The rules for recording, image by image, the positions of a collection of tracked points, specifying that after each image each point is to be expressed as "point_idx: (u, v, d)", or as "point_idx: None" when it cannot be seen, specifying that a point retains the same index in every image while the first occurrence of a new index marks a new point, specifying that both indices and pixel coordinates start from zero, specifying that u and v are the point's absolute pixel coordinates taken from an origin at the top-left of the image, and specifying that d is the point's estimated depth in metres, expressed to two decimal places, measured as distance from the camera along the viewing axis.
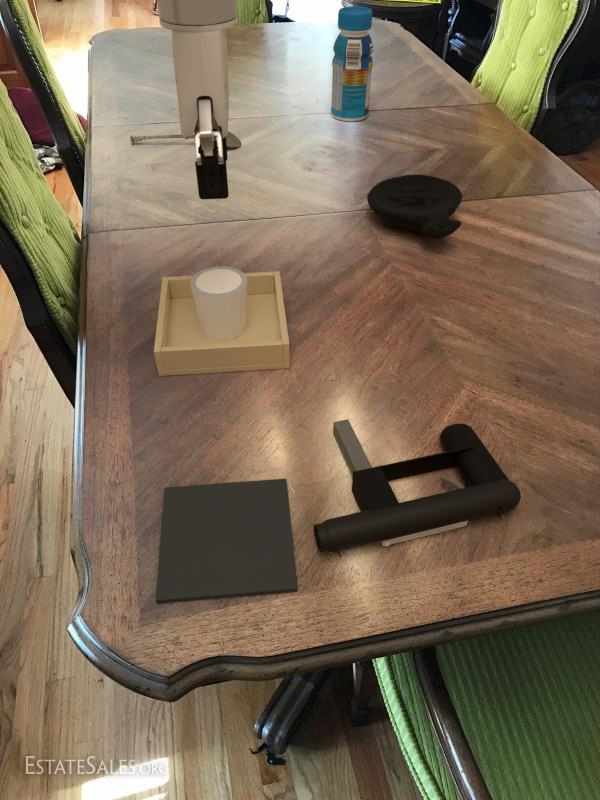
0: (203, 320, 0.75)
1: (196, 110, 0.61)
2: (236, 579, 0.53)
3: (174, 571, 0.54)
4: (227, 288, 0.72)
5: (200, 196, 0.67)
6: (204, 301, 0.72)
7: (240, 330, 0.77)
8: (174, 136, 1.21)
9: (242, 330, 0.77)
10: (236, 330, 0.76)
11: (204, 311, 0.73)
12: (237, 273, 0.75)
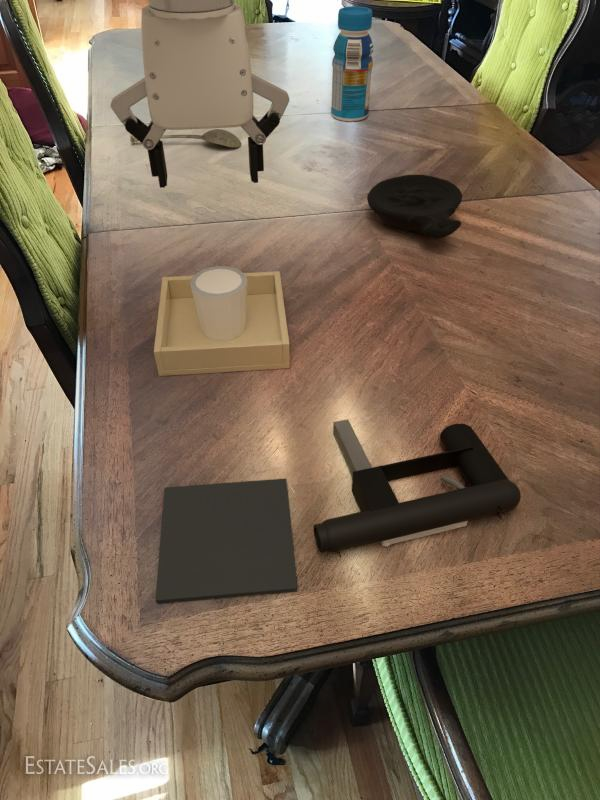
0: (203, 320, 0.75)
1: None
2: (236, 579, 0.53)
3: (174, 571, 0.54)
4: (227, 288, 0.72)
5: None
6: (204, 301, 0.72)
7: (240, 330, 0.77)
8: (174, 136, 1.21)
9: (242, 330, 0.77)
10: (236, 330, 0.76)
11: (204, 311, 0.73)
12: (237, 273, 0.75)
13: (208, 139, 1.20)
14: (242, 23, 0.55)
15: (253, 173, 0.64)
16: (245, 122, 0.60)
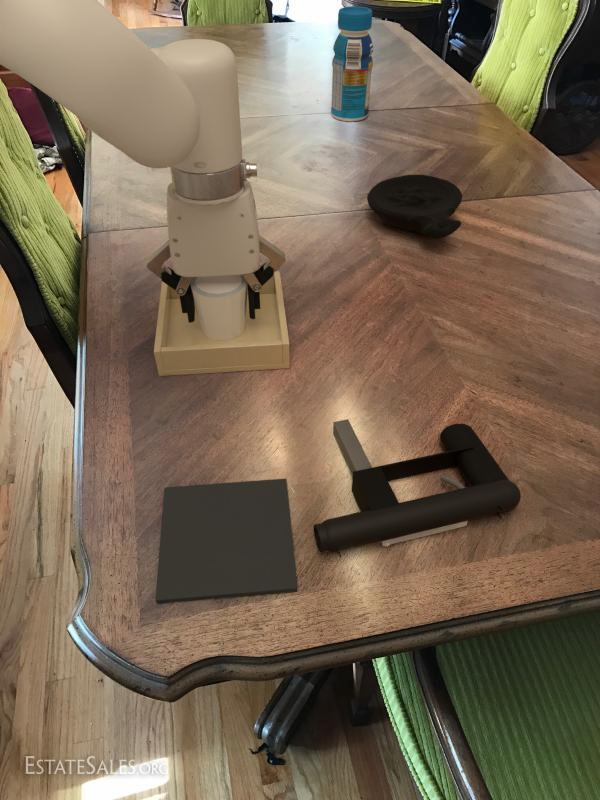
0: (203, 320, 0.75)
1: None
2: (236, 579, 0.53)
3: (174, 571, 0.54)
4: (227, 288, 0.72)
5: None
6: (204, 301, 0.72)
7: (240, 330, 0.77)
8: None
9: (242, 330, 0.77)
10: (236, 330, 0.76)
11: (204, 311, 0.73)
12: None
13: None
14: (251, 200, 0.66)
15: (251, 312, 0.75)
16: (252, 271, 0.71)
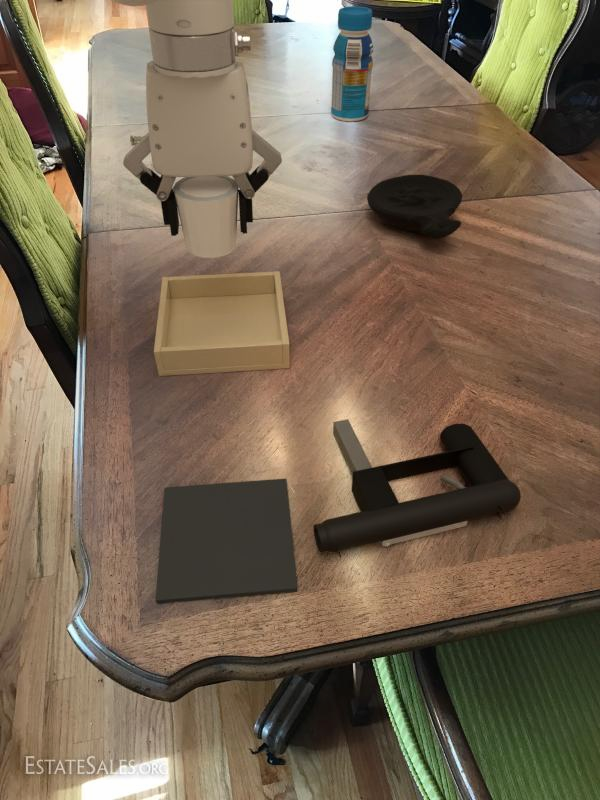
0: (188, 232, 0.66)
1: None
2: (236, 579, 0.53)
3: (174, 571, 0.54)
4: (215, 193, 0.64)
5: None
6: (189, 206, 0.63)
7: (230, 246, 0.68)
8: None
9: (232, 247, 0.68)
10: (225, 245, 0.67)
11: (189, 220, 0.65)
12: (227, 179, 0.66)
13: None
14: (243, 80, 0.57)
15: (242, 225, 0.67)
16: (244, 171, 0.62)
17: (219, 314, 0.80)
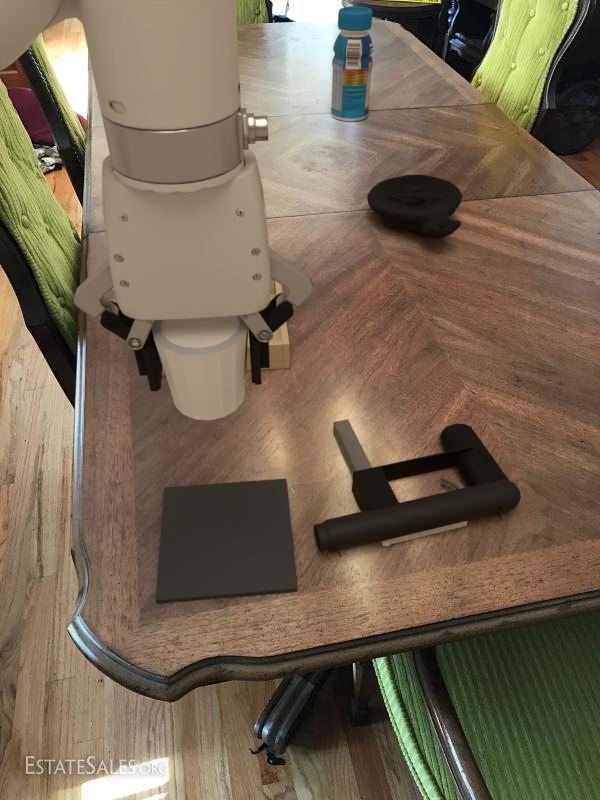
0: (175, 388, 0.45)
1: None
2: (236, 579, 0.53)
3: (174, 571, 0.54)
4: (214, 338, 0.42)
5: None
6: (175, 360, 0.42)
7: (236, 402, 0.47)
8: None
9: (240, 401, 0.47)
10: (230, 403, 0.46)
11: (176, 375, 0.43)
12: None
13: None
14: (256, 185, 0.36)
15: (254, 375, 0.45)
16: (258, 310, 0.41)
17: None
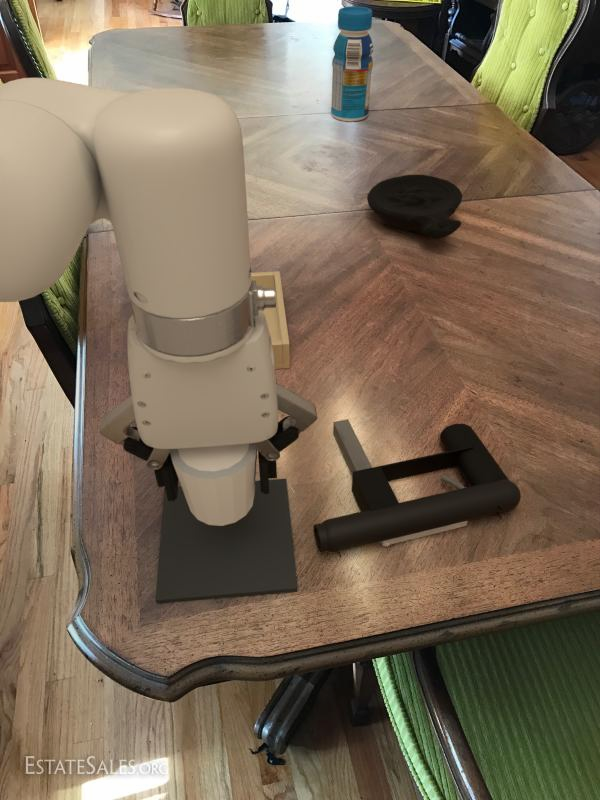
0: (190, 500, 0.49)
1: None
2: (236, 579, 0.53)
3: (174, 571, 0.54)
4: (226, 460, 0.47)
5: None
6: (191, 481, 0.46)
7: (246, 508, 0.51)
8: None
9: (249, 507, 0.51)
10: (241, 510, 0.50)
11: (191, 491, 0.48)
12: None
13: None
14: (265, 343, 0.40)
15: (263, 486, 0.50)
16: (267, 439, 0.45)
17: None
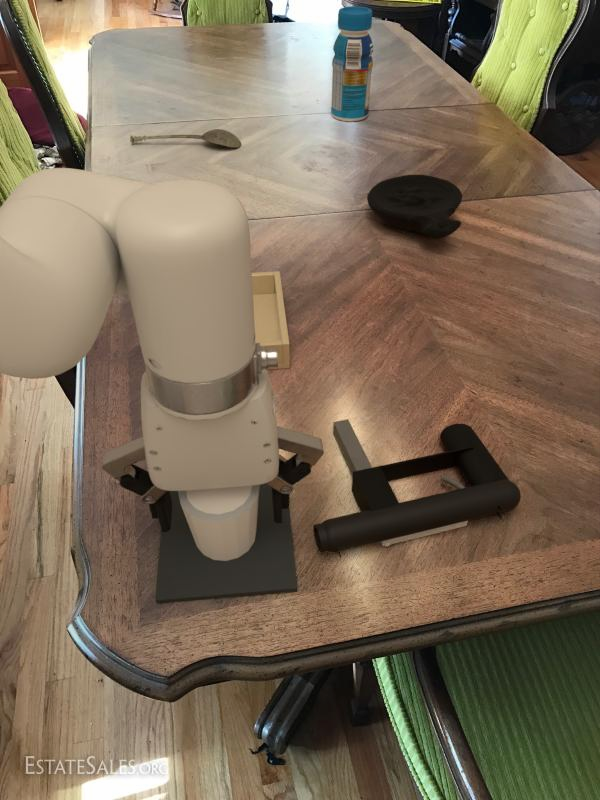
0: (197, 538, 0.53)
1: None
2: (236, 579, 0.53)
3: (174, 571, 0.54)
4: (231, 503, 0.50)
5: None
6: (198, 522, 0.50)
7: (249, 545, 0.55)
8: (174, 136, 1.21)
9: (252, 542, 0.55)
10: (244, 547, 0.54)
11: (198, 531, 0.51)
12: None
13: (208, 139, 1.20)
14: (268, 399, 0.43)
15: (276, 517, 0.53)
16: (268, 481, 0.49)
17: None
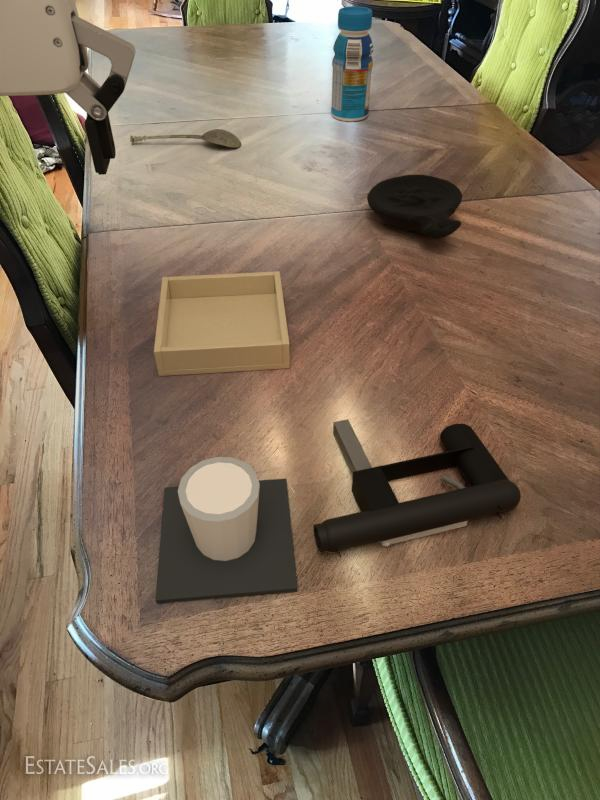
0: (197, 538, 0.53)
1: None
2: (236, 579, 0.53)
3: (174, 571, 0.54)
4: (230, 503, 0.50)
5: None
6: (198, 522, 0.50)
7: (249, 544, 0.55)
8: (174, 136, 1.21)
9: (252, 542, 0.55)
10: (244, 547, 0.54)
11: (198, 531, 0.51)
12: (245, 471, 0.53)
13: (208, 139, 1.20)
14: None
15: (96, 161, 0.46)
16: (69, 87, 0.42)
17: (219, 314, 0.80)
